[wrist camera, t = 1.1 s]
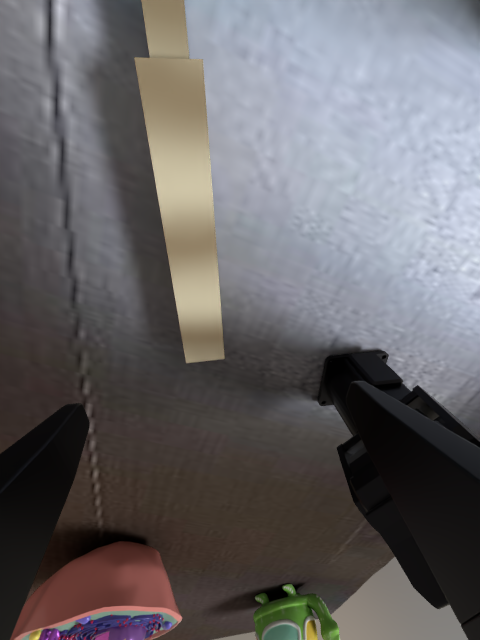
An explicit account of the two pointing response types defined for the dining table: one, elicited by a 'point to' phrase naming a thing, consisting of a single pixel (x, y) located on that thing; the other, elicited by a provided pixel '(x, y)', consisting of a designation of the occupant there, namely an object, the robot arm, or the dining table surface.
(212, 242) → the stick
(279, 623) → the turtle holder
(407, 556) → the robot arm
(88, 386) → the dining table surface
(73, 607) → the cell model
